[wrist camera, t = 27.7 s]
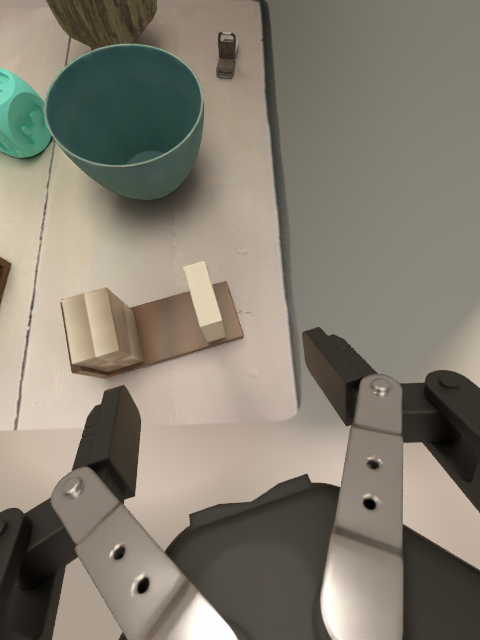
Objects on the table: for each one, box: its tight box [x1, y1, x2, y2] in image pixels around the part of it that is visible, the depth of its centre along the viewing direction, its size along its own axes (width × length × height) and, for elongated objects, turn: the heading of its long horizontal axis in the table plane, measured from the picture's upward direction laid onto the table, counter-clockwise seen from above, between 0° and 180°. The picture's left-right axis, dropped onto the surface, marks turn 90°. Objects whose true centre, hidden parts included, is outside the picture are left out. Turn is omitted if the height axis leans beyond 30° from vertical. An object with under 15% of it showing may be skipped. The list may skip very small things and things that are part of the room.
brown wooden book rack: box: [61, 281, 243, 378], centre depth 36 cm, size 19×8×10 cm, turn 107°
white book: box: [183, 261, 225, 342], centre depth 36 cm, size 2×7×8 cm, turn 17°
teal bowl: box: [44, 44, 204, 200], centre depth 41 cm, size 18×18×12 cm
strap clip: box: [217, 31, 238, 78], centre depth 51 cm, size 8×3×4 cm, turn 173°
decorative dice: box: [0, 68, 52, 158], centre depth 44 cm, size 8×8×8 cm
